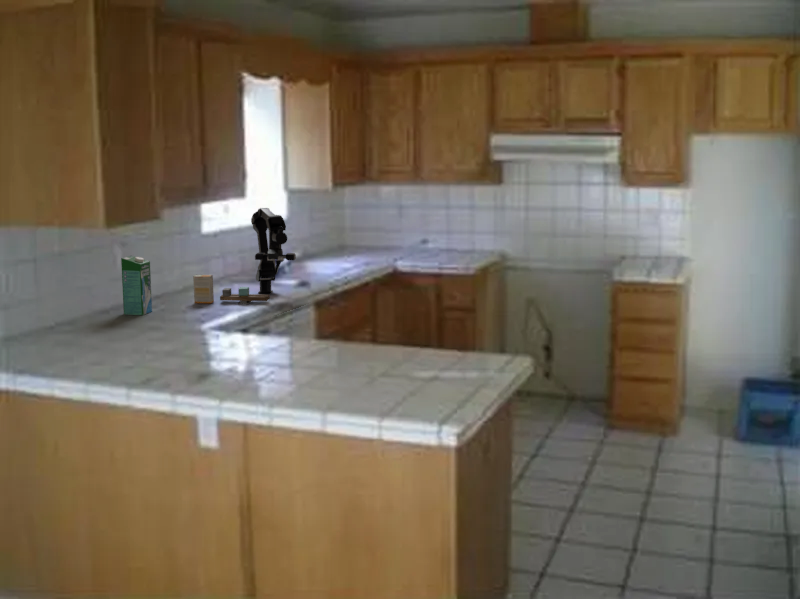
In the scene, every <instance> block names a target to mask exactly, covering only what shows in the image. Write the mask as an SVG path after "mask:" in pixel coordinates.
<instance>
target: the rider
mask: <svg viewBox="0 0 800 599" xmlns="http://www.w3.org/2000/svg"><path fill="white" fill-rule="evenodd" d="M238 294H239V295H240V296H248V294H250V286H240V287H239V288H238Z"/></svg>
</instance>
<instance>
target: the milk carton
mask: <svg viewBox="0 0 800 599" xmlns="http://www.w3.org/2000/svg"><path fill="white" fill-rule="evenodd" d="M120 262H121V283H122V301H123V304H122V305H123V306H122V307H123V315H127V316H128V315H129V316H130V315H131V316H144V315H146V314H149V313H151V312H153V305H152V304H153V302H152V280H151V277H152V276H151V261H149V260H147V259H145V258H144V257H141V256H134V255H128V256H125V257H121V259H120Z"/></svg>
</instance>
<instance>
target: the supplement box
mask: <svg viewBox="0 0 800 599" xmlns="http://www.w3.org/2000/svg"><path fill="white" fill-rule="evenodd" d="M192 277H193V280H192V281H193V301H194V303H193V304H208V305H209V304H212V303H214V302H215V301H214V300H215V296H214V275H213V274H195V275H193V276H192Z"/></svg>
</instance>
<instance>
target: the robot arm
mask: <svg viewBox="0 0 800 599" xmlns="http://www.w3.org/2000/svg"><path fill="white" fill-rule="evenodd" d="M250 221H251V225H252V229H253V230H254V231H255V233H256V235H257V236H256V237H257V243H258V252H256V254H255V255H254V260H255V261H259V263H258V266H257V271H256V274H255V280H256V282H258V283H259V291H258V292H257V294H259V295H270V293H271V294H272V293H273V292H274V291H273V290H272V281H273V282H274V281H275V280H276V275H278V272H279V269H280V266H281V264H282V263H283V262H284V261H285V259H286V261H295V260H296V259H297V256H296V253H295V252H286V254H284V251H283V249H282V245H284V244H286V243H287V241H288V236H287V234H286V233H285V232H284V231H287V230H286V229H287V228H286V227H287V225H286V223H285V220H284V218H283V217H282V215H281V214H275V213H273V212H272V210H270V208H268V207H260V208H258V209H257V211H255V212H254V213H253V214H252V217H251V219H250ZM267 231H268V236H269V237H268V236H267Z"/></svg>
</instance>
